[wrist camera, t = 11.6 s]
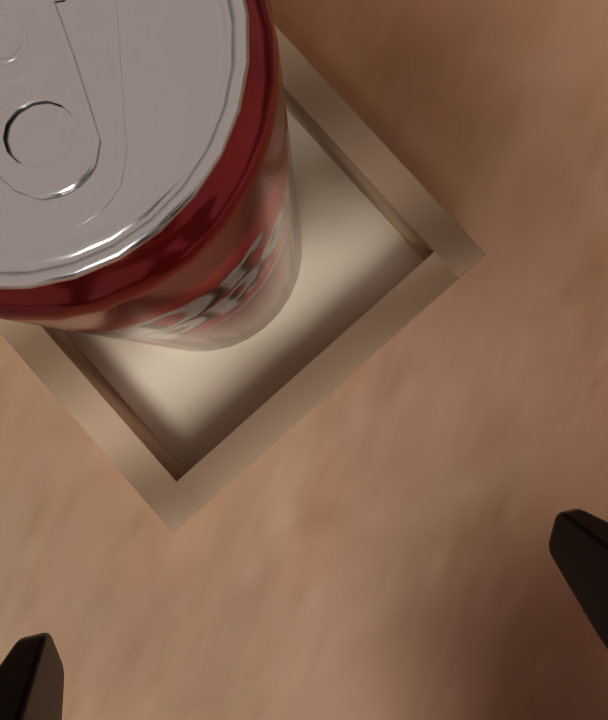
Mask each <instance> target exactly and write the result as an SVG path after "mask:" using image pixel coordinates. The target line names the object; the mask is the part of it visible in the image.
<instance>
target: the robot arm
mask: <svg viewBox="0 0 608 720" xmlns="http://www.w3.org/2000/svg"><path fill="white" fill-rule="evenodd" d="M549 550H550V553H551V555H552V558H553V559H554V561H555V563H556V564H557V566H558V568H559V570H560V571H561V573H562V575H563V577H564V578H565V580H566V582H567V583H568V585H569V587H570V589H571V590H572V592H573V594H574V595H575V597H576V599H577V601H578V602H579V604H580V606H581V607H582V609H583V611H584V613H585V614H586V616H587V618H588V619H589V621H590V623H591V624H592V626H593V628H594V629H595V631H596V632H597V634H598V635H599V637H600V638H601V640H602V641H603V643H604V644H605V646H606V647H607V649H608V522H606V521H604V520H602V519H600V518H598V517H596V516H594V515H592V514H590V513H587V512H585V511H583V510H580V509H573V510H568V511H564V512H560V513H559V514H558V515H557V516H556V518H555V522H554V525H553V529H552V533H551V536H550V540H549ZM63 688H64V670H63V665H62V662H61V659H60V657H59V654H58V652H57V649H56V647H55V644H54V642H53V639H52V637H51V635H50V634H48V633H41V634H36V635H32V636H28V637H24V638H22V639H20V640H19V641H18V642H17V643H16V644H15V645H14V646H13V648H12V649H11V651H10V652H9V654H8V655H7V656H6V658H5V659H4V661H3V662H2V664H1V665H0V720H62V705H63Z"/></svg>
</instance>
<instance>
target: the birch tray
mask: <svg viewBox="0 0 608 720" xmlns="http://www.w3.org/2000/svg"><path fill="white" fill-rule="evenodd" d="M274 25H275V24H274ZM275 30H276V34H277V39H278V45H279V54H280V62H281V70H282V78H283V87H284V95H285V103H286V112H287V120H288V128H289V136H290V145H291V153H292V161H293V170H294V178H295V186H296V194H297V203H298V211H299V219H300V227H301V236H302V260H301V265H300V270H299V276H298V279H297V281H296V284H295V286H294V289H293V291H292V294H291V296H290V298H289V299H288V301H287V302H286V304H285V305H284V307H283V308H282V310H281V312H280V313H279V314H278V315H277V316H276V317H275V318H274V319H273V320H272V321H271V322H270V323H269V324H268V325H267V326H266V327H265V328H264V329H263V330H261V331H260V332H258V333H257V334H255V335H254V336H252V337H251V338H249V339H248V340H245V341H243V342H241V343H238V344H236V345H234V346H231V347H228V348H223V349H218V350H214V351H185V350H179V349H173V348H167V347H161V346H155V345H150V344H144V343H138V342H132V341H126V340H121V339H115V338H109V337H103V336H97V335H91V334H86V333H80V332H74V331H68V330H62V329H56V328H51V327H45V326H39V325H33V324H27V323H22V322H16V321H10V320H4V319H0V333H1V334H2V336H3V337H4V338H5V339H6V340H7V341H8V342H9V344H10V345H11V346H12V347H13V348H14V349H15V351H16V352H17V353H18V354H19V355H20V356H21V357H22V359H23V360H24V361H25V362H26V363H27V364H28V366H29V367H30V368H31V369H32V370H33V371H34V372H35V374H36V375H37V376H38V377H39V378H40V379H41V381H42V382H43V383H44V384H45V385H46V386H47V388H48V389H49V390H50V391H51V392H52V393H53V394H54V396H55V397H56V398H57V399H58V400H59V401H60V403H61V404H62V405H63V406H64V407H65V408H66V409H67V411H68V412H69V413H70V414H71V415H72V416H73V418H74V419H75V420H76V421H77V422H78V423H79V424H80V426H81V427H82V428H83V429H84V430H85V431H86V433H87V434H88V435H89V436H90V437H91V438H92V439H93V441H94V442H95V443H96V444H97V445H98V446H99V448H100V449H101V450H102V451H103V452H104V453H105V455H106V456H107V457H108V458H109V459H110V460H111V461H112V463H113V464H114V465H115V466H116V467H117V468H118V470H119V471H120V472H121V473H122V474H123V475H124V476H125V478H126V479H127V480H128V481H129V482H130V483H131V485H132V486H133V487H134V488H135V489H136V490H137V491H138V493H139V494H140V495H141V496H142V497H143V498H144V500H145V501H146V502H147V503H148V504H149V505H150V506H151V508H152V509H153V510H154V511H155V512H156V513H157V515H158V516H159V517H160V518H161V519H162V520H163V521H164V523H165V524H166V525H167V526H168V527H169V528H170V530H171V531H172V532H173V533H174V532H175V531H176V530H177V529H178V528H179V527H180V526H181V525H183V524H184V523H185V522H186V521H187V520H188V519H189V518H190V517H191V516H193V515H194V514H195V513H196V512H197V511H198V510H199V509H200V508H202V507H203V506H204V505H205V504H206V503H207V502H208V501H209V500H211V499H212V498H213V497H214V496H215V495H216V494H217V493H218V492H219V491H221V490H222V489H223V488H224V487H225V486H226V485H227V484H228V483H230V482H231V481H232V480H233V479H234V478H235V477H236V476H237V475H239V474H240V473H241V472H242V471H243V470H244V469H245V468H246V467H248V466H249V465H250V464H251V463H252V462H253V461H254V460H255V459H256V458H258V457H259V456H260V455H261V454H262V453H263V452H264V451H265V450H267V449H268V448H269V447H270V446H271V445H272V444H273V443H274V442H276V441H277V440H278V439H279V438H280V437H281V436H282V435H283V434H285V433H286V432H287V431H288V430H289V429H290V428H291V427H292V426H293V425H295V424H296V423H297V422H298V421H299V420H300V419H301V418H302V417H304V416H305V415H306V414H307V413H308V412H309V411H310V410H311V409H313V408H314V407H315V406H316V405H317V404H318V403H319V402H320V401H322V400H323V399H324V398H325V397H326V396H327V395H328V394H329V393H330V392H332V391H333V390H334V389H335V388H336V387H337V386H338V385H339V384H341V383H342V382H343V381H344V380H345V379H346V378H347V377H348V376H350V375H351V374H352V373H353V372H354V371H355V370H356V369H357V368H359V367H360V366H361V365H362V364H363V363H364V362H365V361H366V360H367V359H369V358H370V357H371V356H372V355H373V354H374V353H375V352H376V351H378V350H379V349H380V348H381V347H382V346H383V345H384V344H385V343H387V342H388V341H389V340H390V339H391V338H392V337H393V336H394V335H395V334H397V333H398V332H399V331H400V330H401V329H402V328H403V327H404V326H406V325H407V324H408V323H409V322H410V321H411V320H412V319H413V318H415V317H416V316H417V315H418V314H419V313H420V312H421V311H422V310H424V309H425V308H426V307H427V306H428V305H429V304H430V303H431V302H432V301H434V300H435V299H436V298H437V297H438V296H439V295H440V294H441V293H443V292H444V291H445V290H446V289H447V288H448V287H449V286H450V285H452V284H453V283H454V282H455V281H456V280H457V279H458V278H459V277H461V276H462V275H463V274H464V273H465V272H466V271H467V270H468V269H469V268H471V267H472V266H473V265H474V264H475V263H476V262H477V261H478V260H480V259H481V258H482V257H483V256H484V255H485V253H484V252H483V251H482V250H481V249H480V248H479V246H478V245H477V244H476V243H475V242H474V241H473V240H472V239H471V238H470V237H469V236H468V234H467V233H466V232H465V231H464V230H463V229H462V228H461V227H460V226H459V225H458V224H457V222H456V221H455V220H454V219H453V218H452V217H451V216H450V215H449V214H448V213H447V212H446V210H445V209H444V208H443V207H442V206H441V205H440V204H439V203H438V202H437V201H436V200H435V199H434V197H433V196H432V195H431V194H430V193H429V192H428V191H427V190H426V189H425V188H424V187H423V185H422V184H421V183H420V182H419V181H418V180H417V179H416V178H415V177H414V176H413V175H412V173H411V172H410V171H409V170H408V169H407V168H406V167H405V166H404V165H403V164H402V163H401V162H400V160H399V159H398V158H397V157H396V156H395V155H394V154H393V153H392V152H391V151H390V150H389V148H388V147H387V146H386V145H385V144H384V143H383V142H382V141H381V140H380V139H379V138H378V136H377V135H376V134H375V133H374V132H373V131H372V130H371V129H370V128H369V127H368V126H367V125H366V123H365V122H364V121H363V120H362V119H361V118H360V117H359V116H358V115H357V114H356V113H355V111H354V110H353V109H352V108H351V107H350V106H349V105H348V104H347V103H346V102H345V101H344V99H343V98H342V97H341V96H340V95H339V94H338V93H337V92H336V91H335V90H334V89H333V87H332V86H331V85H330V84H329V83H328V82H327V81H326V80H325V79H324V78H323V77H322V76H321V74H320V73H319V72H318V71H317V70H316V69H315V68H314V67H313V66H312V65H311V64H310V62H309V61H308V60H307V59H306V58H305V57H304V56H303V55H302V54H301V53H300V52H299V50H298V49H297V48H296V47H295V46H294V45H293V44H292V43H291V42H290V41H289V40H288V39H287V37H286V36H285V35H284V34H283V33H282V32H281V31H280V30H279V29H278V28H277V27H276V25H275Z"/></svg>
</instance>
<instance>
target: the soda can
mask: <svg viewBox="0 0 608 720" xmlns="http://www.w3.org/2000/svg"><path fill="white" fill-rule="evenodd" d="M301 260H302V236H301V227H300V219H299V211H298V203H297V194H296V186H295V178H294V170H293V161H292V153H291V145H290V136H289V128H288V120H287V112H286V103H285V95H284V87H283V78H282V70H281V62H280V54H279V45H278V39H277V34H276V30H275V25H274V20H273V16H272V11H271V6H270V1H269V0H0V319H4V320H10V321H16V322H22V323H27V324H33V325H39V326H45V327H51V328H56V329H62V330H68V331H74V332H80V333H86V334H91V335H97V336H103V337H109V338H115V339H121V340H126V341H132V342H138V343H144V344H150V345H155V346H161V347H167V348H173V349H179V350H185V351H214V350H218V349H223V348H228V347H231V346H234V345H236V344H238V343H241V342H243V341H245V340H248V339H249V338H251V337H252V336H254V335H255V334H257V333H258V332H260V331H261V330H263V329H264V328H265V327H266V326H267V325H268V324H269V323H270V322H271V321H272V320H273V319H274V318H275V317H276V316H277V315H278V314H279V313H280V312H281V310H282V308H283V307H284V305H285V304H286V302H287V301H288V299H289V298H290V296H291V294H292V291H293V289H294V286H295V284H296V281H297V279H298V276H299V270H300V265H301Z"/></svg>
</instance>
